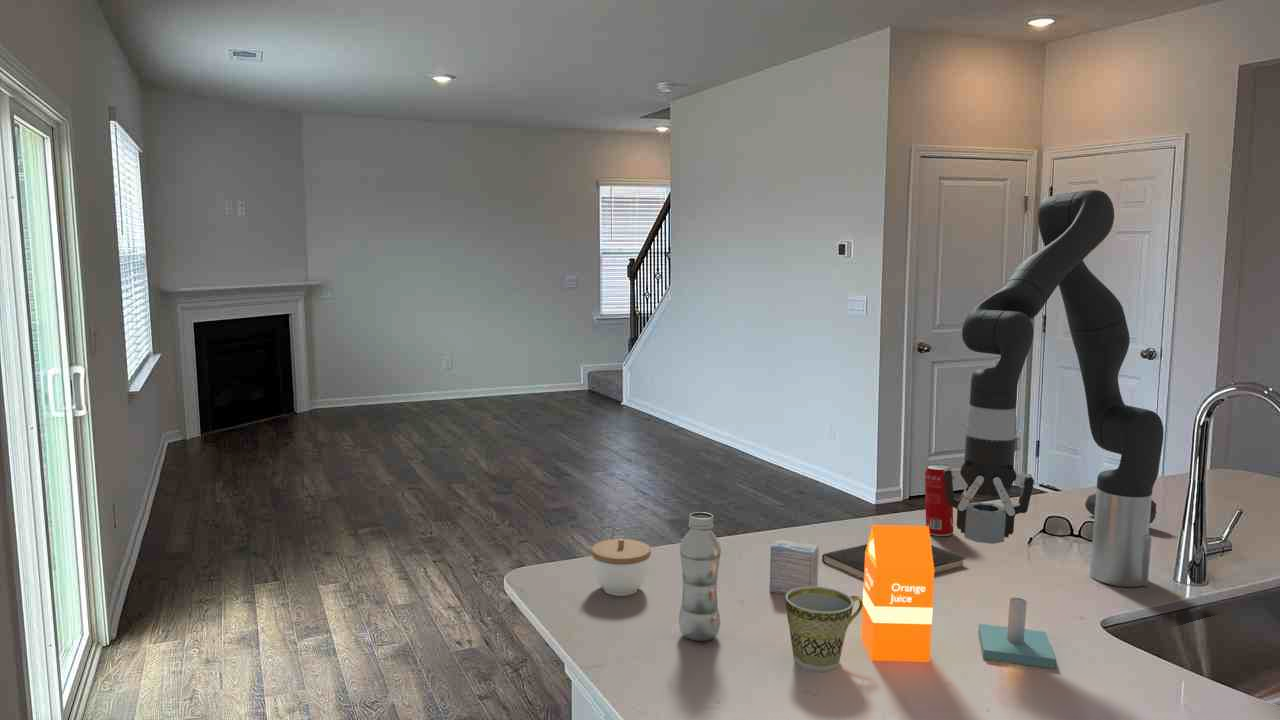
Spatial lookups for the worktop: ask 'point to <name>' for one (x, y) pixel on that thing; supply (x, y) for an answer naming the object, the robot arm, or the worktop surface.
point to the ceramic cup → (819, 625)
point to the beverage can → (937, 502)
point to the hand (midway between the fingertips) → (984, 533)
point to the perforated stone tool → (1092, 499)
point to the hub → (985, 523)
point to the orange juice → (898, 593)
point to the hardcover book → (855, 559)
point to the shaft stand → (1016, 640)
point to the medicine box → (793, 566)
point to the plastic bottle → (700, 579)
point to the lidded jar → (620, 565)
